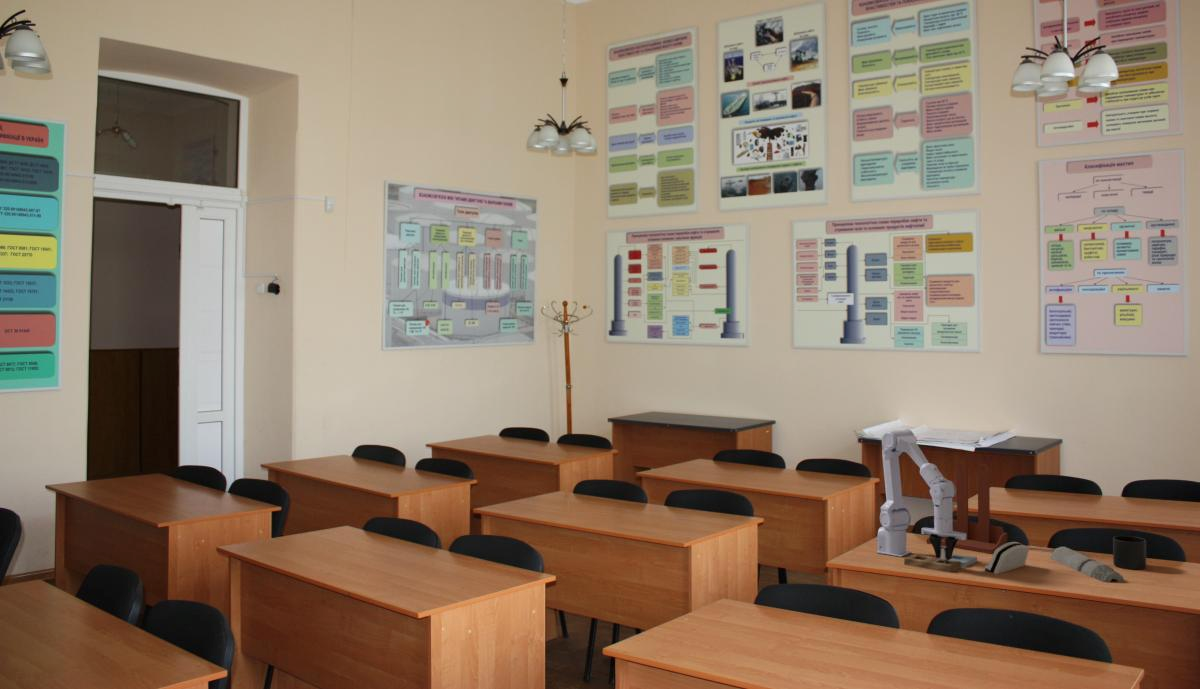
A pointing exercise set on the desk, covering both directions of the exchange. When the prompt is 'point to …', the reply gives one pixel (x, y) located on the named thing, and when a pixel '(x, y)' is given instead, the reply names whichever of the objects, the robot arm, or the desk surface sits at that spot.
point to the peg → (943, 555)
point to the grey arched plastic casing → (1008, 557)
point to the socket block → (964, 559)
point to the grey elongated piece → (1085, 565)
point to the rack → (932, 563)
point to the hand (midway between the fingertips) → (943, 558)
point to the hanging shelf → (980, 533)
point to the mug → (1129, 552)
